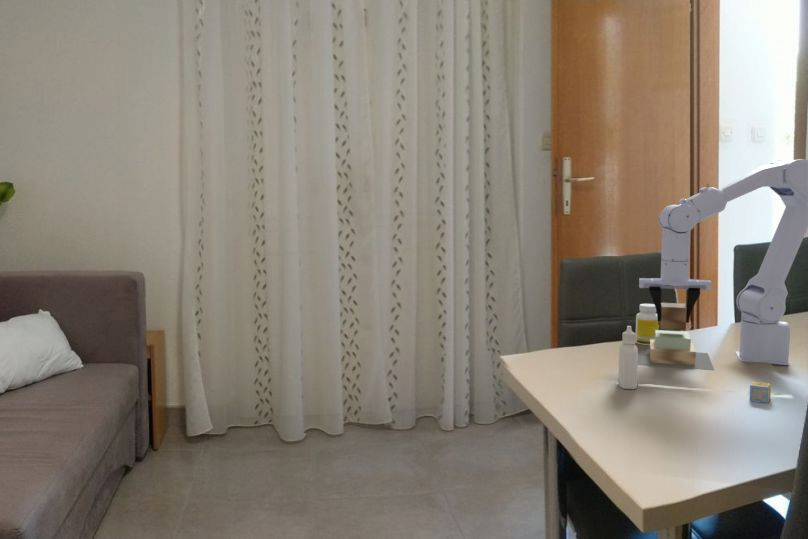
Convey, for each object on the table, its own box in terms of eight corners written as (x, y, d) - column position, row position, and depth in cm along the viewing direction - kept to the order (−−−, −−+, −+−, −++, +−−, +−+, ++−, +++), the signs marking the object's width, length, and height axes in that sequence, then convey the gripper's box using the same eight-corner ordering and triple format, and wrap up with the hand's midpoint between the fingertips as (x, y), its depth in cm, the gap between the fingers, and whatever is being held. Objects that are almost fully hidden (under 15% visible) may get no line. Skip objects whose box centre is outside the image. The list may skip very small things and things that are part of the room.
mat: (707, 355, 151) (707, 353, 151) (714, 372, 138) (714, 370, 138) (633, 350, 156) (633, 348, 156) (633, 366, 143) (633, 364, 143)
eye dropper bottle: (643, 384, 131) (645, 325, 129) (633, 391, 127) (635, 330, 125) (622, 380, 134) (623, 322, 132) (611, 387, 130) (612, 327, 128)
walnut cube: (684, 325, 147) (685, 303, 147) (685, 330, 143) (686, 307, 142) (660, 324, 149) (661, 302, 148) (660, 329, 144) (661, 306, 144)
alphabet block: (748, 400, 121) (749, 384, 120) (751, 396, 123) (752, 380, 123) (767, 404, 119) (768, 387, 118) (770, 399, 121) (771, 383, 121)
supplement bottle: (661, 346, 159) (663, 306, 158) (639, 347, 159) (640, 307, 158) (653, 341, 164) (655, 302, 163) (632, 341, 164) (633, 303, 163)
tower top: (688, 342, 149) (688, 331, 148) (690, 350, 142) (690, 339, 142) (654, 340, 151) (655, 330, 151) (655, 348, 144) (656, 337, 144)
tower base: (691, 354, 150) (692, 341, 149) (695, 365, 141) (695, 351, 141) (649, 352, 153) (650, 339, 152) (650, 362, 144) (650, 349, 144)
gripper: (640, 261, 143) (638, 323, 144) (713, 263, 138) (710, 326, 140) (639, 257, 149) (638, 316, 151) (710, 259, 144) (707, 319, 146)
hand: (672, 321), depth 146 cm, fingers closed on walnut cube, 5 cm apart
